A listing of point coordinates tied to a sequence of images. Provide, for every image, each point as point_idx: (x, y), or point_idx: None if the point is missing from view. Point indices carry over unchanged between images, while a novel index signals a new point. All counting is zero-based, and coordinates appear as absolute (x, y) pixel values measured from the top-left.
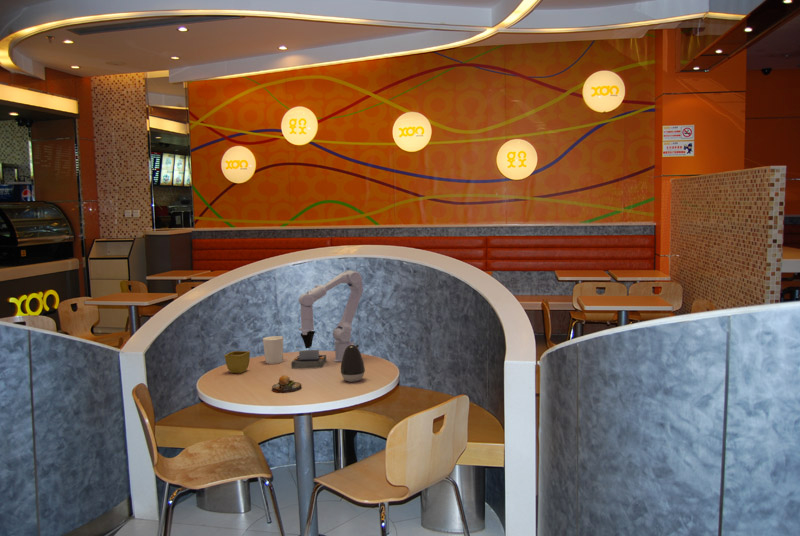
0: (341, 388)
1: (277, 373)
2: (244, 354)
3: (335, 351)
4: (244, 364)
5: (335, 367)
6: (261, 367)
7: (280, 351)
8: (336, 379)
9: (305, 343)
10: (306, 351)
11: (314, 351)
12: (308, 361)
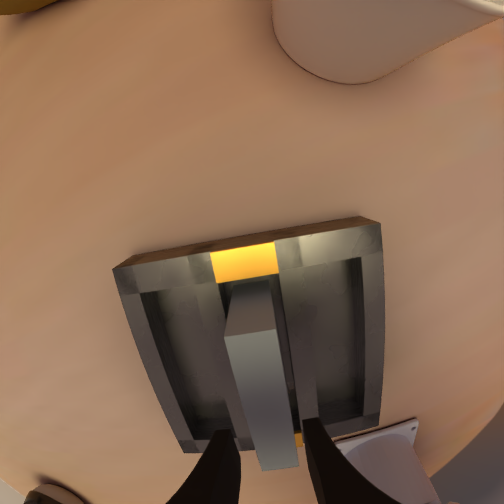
0: (6, 464)
1: (20, 214)
2: None
3: (374, 477)
4: (14, 2)
5: None
6: (160, 12)
7: (345, 44)
8: (51, 468)
9: (202, 474)
10: (241, 402)
11: (257, 450)
12: (160, 392)
